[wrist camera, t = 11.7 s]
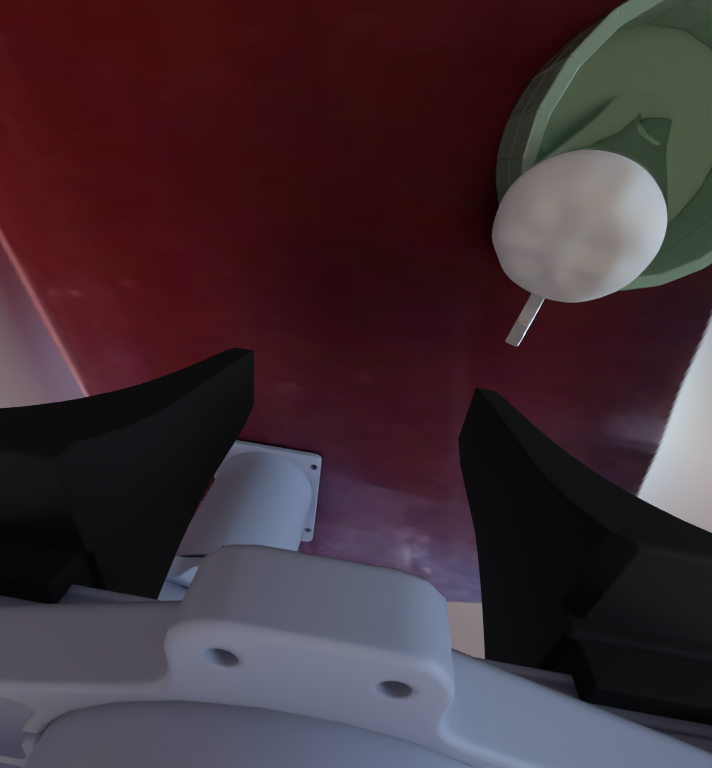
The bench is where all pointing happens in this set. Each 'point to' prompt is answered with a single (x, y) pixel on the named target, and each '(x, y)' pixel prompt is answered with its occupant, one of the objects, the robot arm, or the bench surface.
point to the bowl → (627, 76)
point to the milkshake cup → (590, 207)
